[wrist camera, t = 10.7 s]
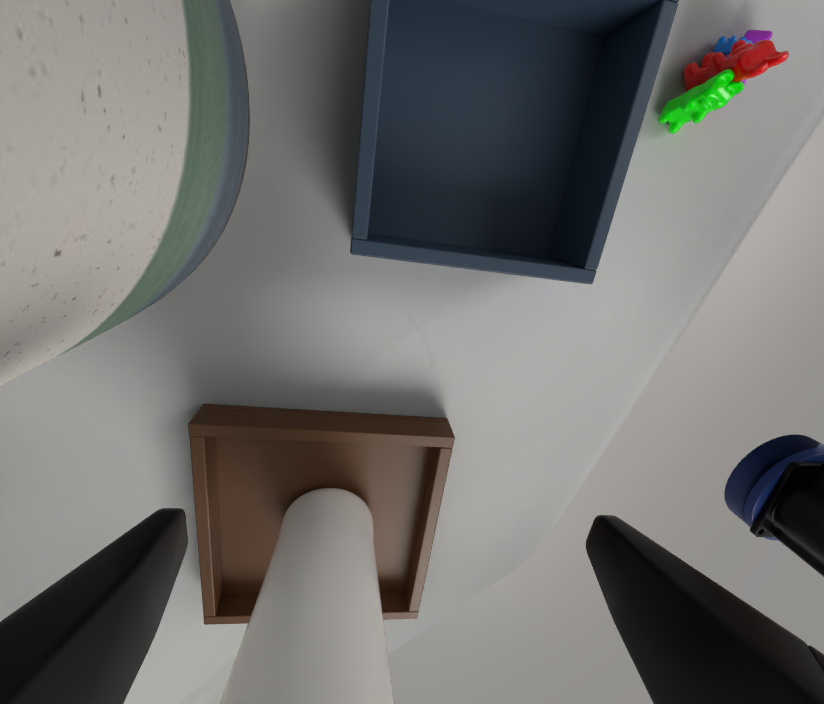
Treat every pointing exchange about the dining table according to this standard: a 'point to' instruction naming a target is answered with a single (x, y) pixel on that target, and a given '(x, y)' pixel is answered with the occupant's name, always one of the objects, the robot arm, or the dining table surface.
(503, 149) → the bin
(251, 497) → the tray
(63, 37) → the vase
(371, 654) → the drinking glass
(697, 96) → the gummy bear
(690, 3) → the dining table surface
